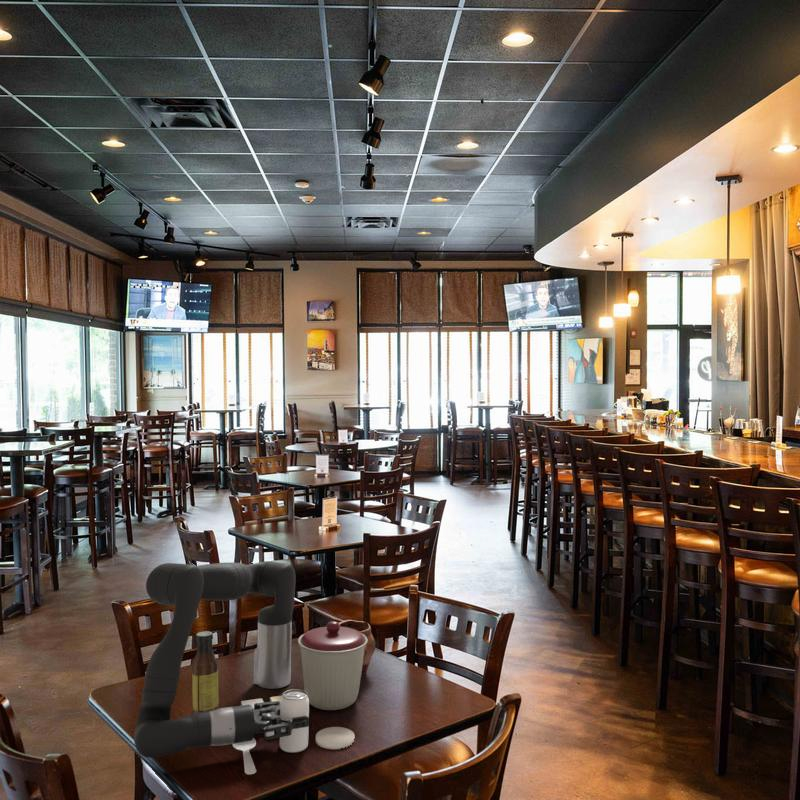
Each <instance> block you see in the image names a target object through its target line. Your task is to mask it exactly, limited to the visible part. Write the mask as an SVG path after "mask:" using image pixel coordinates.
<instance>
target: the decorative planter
mask: <svg viewBox="0 0 800 800" xmlns="http://www.w3.org/2000/svg"><path fill="white" fill-rule="evenodd" d="M338 623H339V625H340V627H347V628H351V629H354V630H357V631H359V632H360V633H362V634H364V635H365V636H366V637H367V639H368V642H367V644H366V645H365V649H364V657H363V665H362V672H361V676H363V675H365V674H367V671H368V668H369V666H370V663H371V660H372V657H373V654H374V652H375V649H376V641H375V638H374V636H373V634H372V628H371V625H370V624H369V623H368V622H366V621H362V620H360V621H358V620H354V619H353V620H352V619H346V620H342V621H340V622H338Z"/></svg>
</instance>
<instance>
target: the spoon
mask: <svg viewBox="0 0 800 800" xmlns="http://www.w3.org/2000/svg"><path fill="white" fill-rule="evenodd" d="M231 745H232V747H233V748H234V749H235V750H237V751H241V752H242V757H243V765H244V766H243V767H244V773H245V774H246V775H253V774H255V773H257V769H256V766H255V764H254V761H253V757H252V755H251V753H250V750H252V749H254V748H255V747H256V745H257V740H256V739H255V737H254V738H253V740H252V741H248V742H241V743H235V744H231Z"/></svg>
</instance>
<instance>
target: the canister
mask: <svg viewBox="0 0 800 800" xmlns="http://www.w3.org/2000/svg"><path fill="white" fill-rule="evenodd" d="M339 623H340V622H337V621H333V620H331V621H329V622H328V623H327V624H326V626H320V627H316V628H313V629H311V630H308V631H306V632H305V633H303V634H301V635H300V636H299V637H298V638H297V644H298V646H299V647H300V656H301V668H302V678H303V680H302V681H303V689H304V691H306V692H307V697H308V699H309V706H311V707H313V708H316V709H318V710H323V711H338V710H343V709H347V708H348V707H351V705H353V704H354V703H355V702H356V700H357V699H358V696H359V692H360V691H359V690H360V684H361V677H362V675H361V672H362V665H363V657H364V649H365V645H366V644H367V642H368V639H367V637H366V636H365V635H364V634H362V633H360V632H359V631H357V630H354V629H351V628H347V627H340V625H339Z"/></svg>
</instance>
